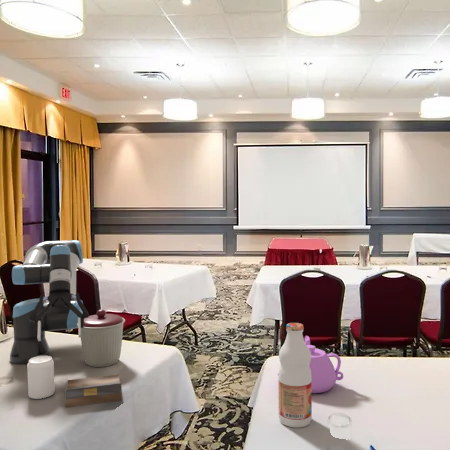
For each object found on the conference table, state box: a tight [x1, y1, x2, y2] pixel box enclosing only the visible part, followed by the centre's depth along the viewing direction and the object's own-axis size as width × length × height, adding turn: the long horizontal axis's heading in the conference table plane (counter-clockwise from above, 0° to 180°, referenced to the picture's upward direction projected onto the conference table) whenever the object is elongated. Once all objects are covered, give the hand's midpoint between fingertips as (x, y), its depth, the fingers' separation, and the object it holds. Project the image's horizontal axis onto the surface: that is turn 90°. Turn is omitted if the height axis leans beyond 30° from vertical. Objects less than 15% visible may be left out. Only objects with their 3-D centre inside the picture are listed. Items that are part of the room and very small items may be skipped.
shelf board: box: [64, 373, 123, 408], centre depth 155 cm, size 16×17×6 cm
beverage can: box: [26, 355, 56, 400], centre depth 154 cm, size 8×8×12 cm
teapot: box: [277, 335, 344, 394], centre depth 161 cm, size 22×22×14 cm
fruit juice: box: [277, 322, 313, 429], centre depth 134 cm, size 9×9×28 cm
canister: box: [77, 309, 126, 368], centre depth 183 cm, size 18×18×21 cm
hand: (59, 338), depth 165 cm, fingers open, 13 cm apart
